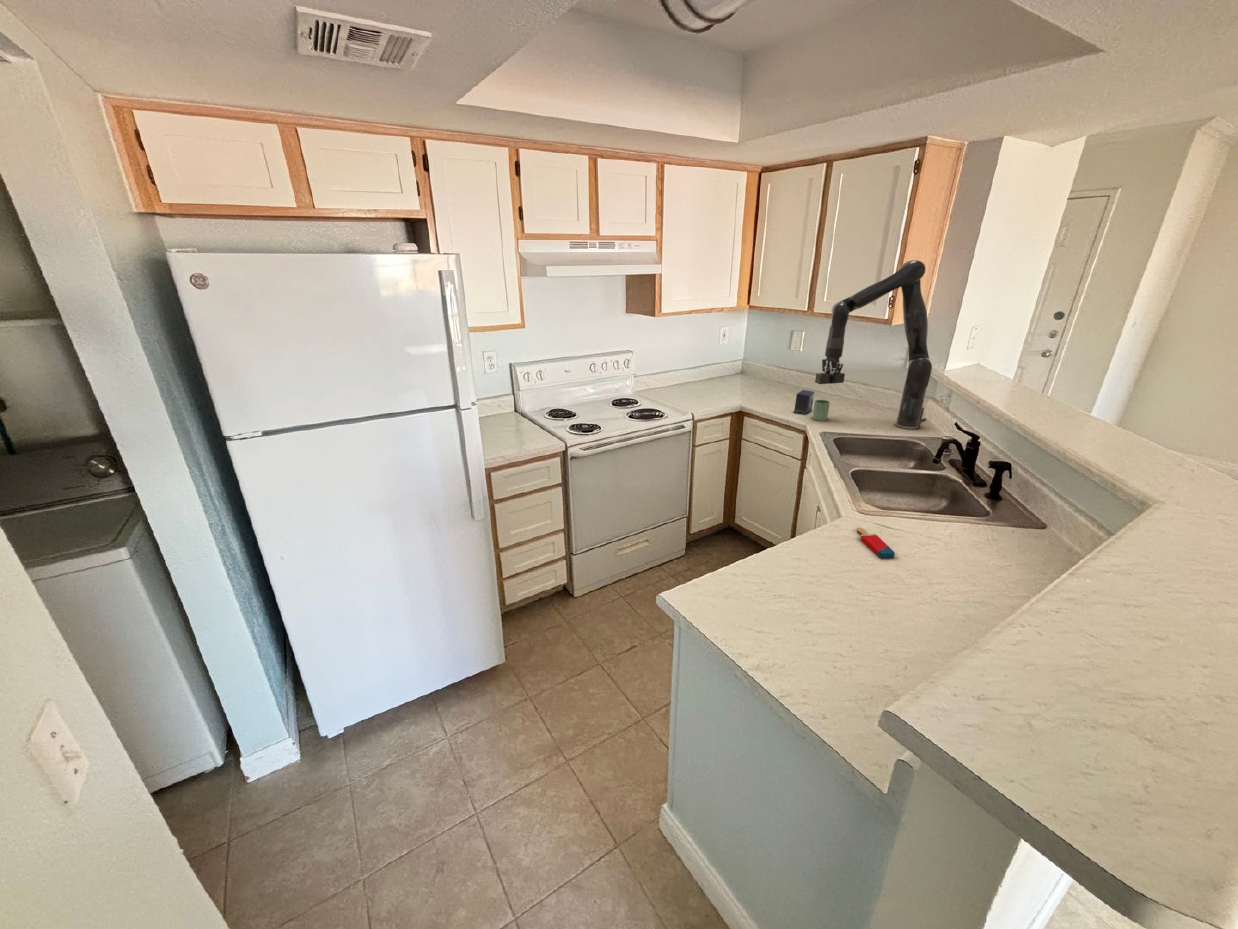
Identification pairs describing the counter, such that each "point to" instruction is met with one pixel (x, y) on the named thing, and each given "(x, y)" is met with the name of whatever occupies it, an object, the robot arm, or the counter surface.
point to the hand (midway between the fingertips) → (829, 382)
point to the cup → (821, 410)
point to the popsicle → (876, 544)
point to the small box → (804, 402)
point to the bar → (828, 378)
